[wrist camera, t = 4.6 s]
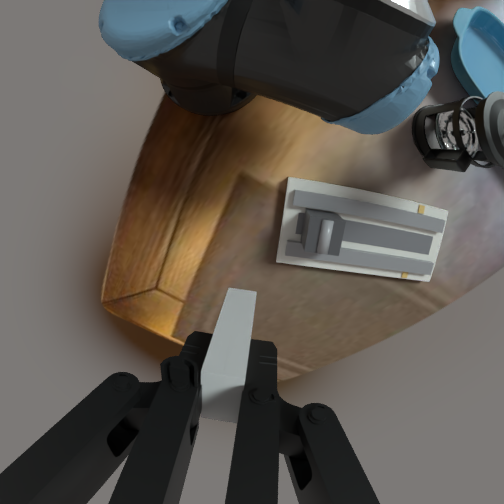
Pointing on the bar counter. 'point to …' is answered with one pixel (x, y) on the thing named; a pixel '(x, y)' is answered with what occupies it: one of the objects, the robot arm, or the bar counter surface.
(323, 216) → the fader tab
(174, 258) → the bar counter surface
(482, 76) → the casserole dish
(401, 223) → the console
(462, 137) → the french press
